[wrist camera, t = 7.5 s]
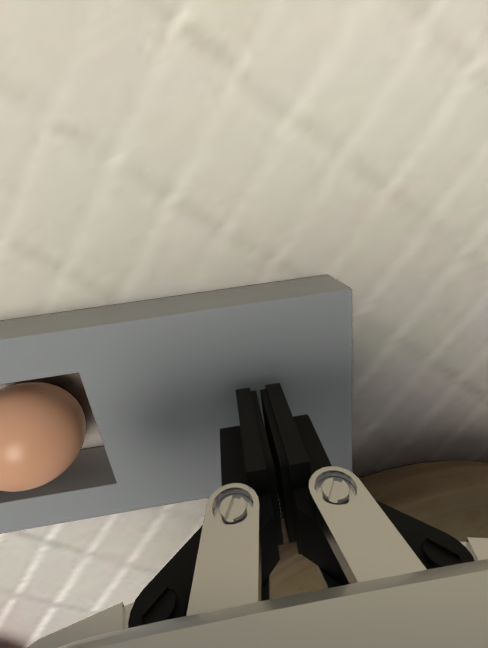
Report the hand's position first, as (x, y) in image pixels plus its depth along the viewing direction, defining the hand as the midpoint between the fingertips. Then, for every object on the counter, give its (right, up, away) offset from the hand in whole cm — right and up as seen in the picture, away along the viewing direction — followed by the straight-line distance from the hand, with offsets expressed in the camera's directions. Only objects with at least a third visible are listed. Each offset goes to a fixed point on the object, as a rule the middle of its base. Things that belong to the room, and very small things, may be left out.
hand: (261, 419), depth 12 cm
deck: (-5, +1, +3) cm, 5 cm away
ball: (-9, -1, +1) cm, 9 cm away
